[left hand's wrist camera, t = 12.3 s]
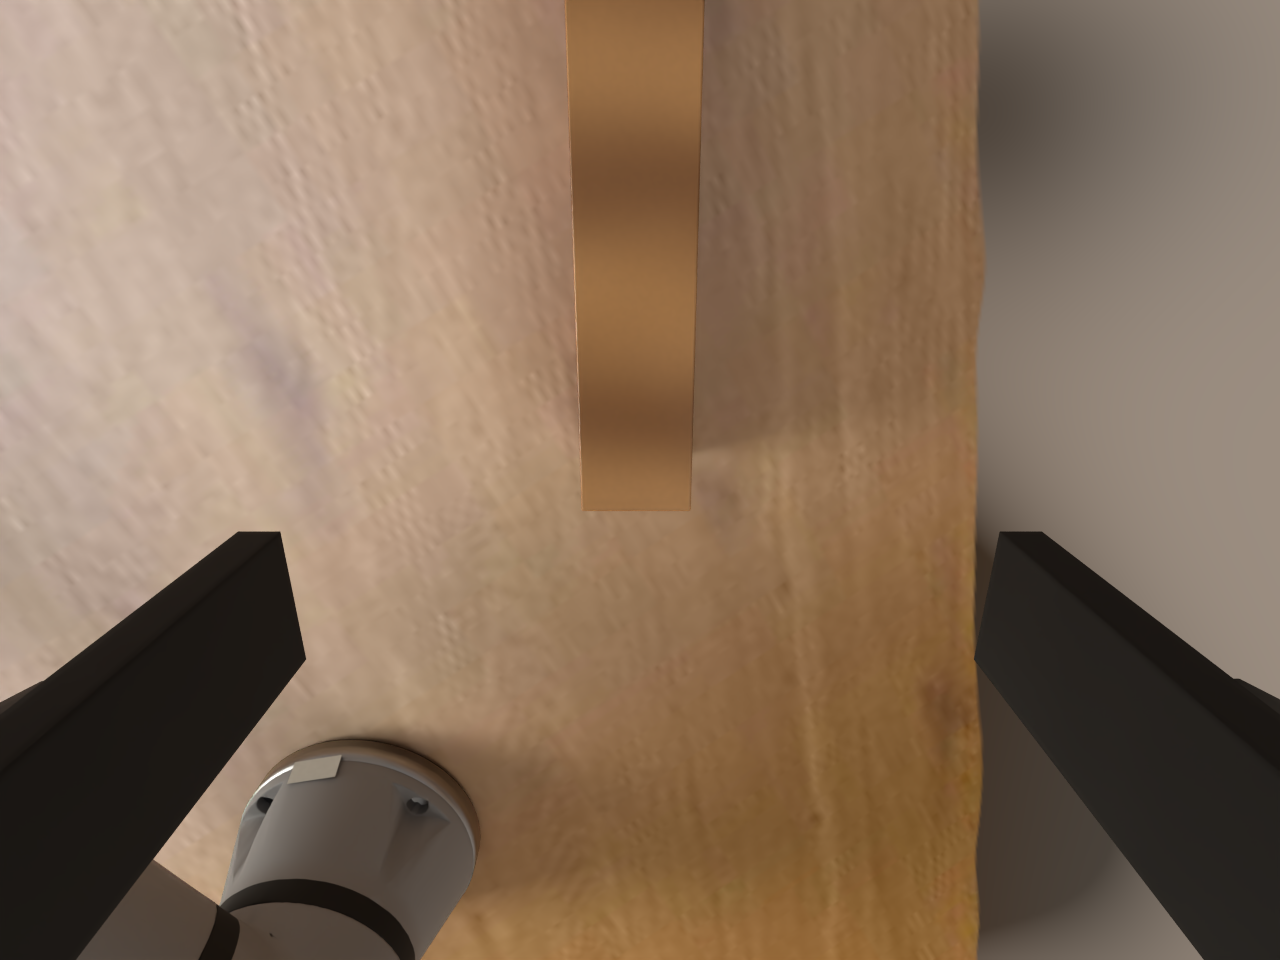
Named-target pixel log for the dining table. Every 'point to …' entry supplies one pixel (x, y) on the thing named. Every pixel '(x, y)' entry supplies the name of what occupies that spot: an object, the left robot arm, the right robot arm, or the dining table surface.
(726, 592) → the dining table surface
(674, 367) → the post
